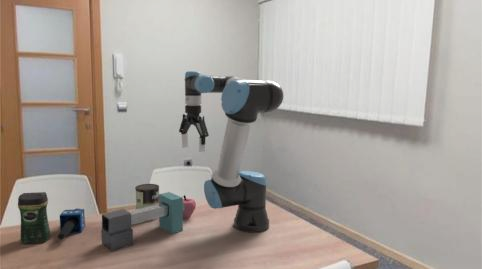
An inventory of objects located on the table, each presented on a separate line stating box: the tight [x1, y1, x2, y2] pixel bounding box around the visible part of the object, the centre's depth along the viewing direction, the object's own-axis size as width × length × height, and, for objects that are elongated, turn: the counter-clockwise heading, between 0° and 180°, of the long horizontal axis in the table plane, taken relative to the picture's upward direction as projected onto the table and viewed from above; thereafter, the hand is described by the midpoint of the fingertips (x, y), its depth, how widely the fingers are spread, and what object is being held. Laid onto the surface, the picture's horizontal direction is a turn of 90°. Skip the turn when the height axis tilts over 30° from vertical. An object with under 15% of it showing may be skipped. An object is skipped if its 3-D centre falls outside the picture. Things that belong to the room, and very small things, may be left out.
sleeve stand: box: [100, 208, 134, 253], centre depth 135 cm, size 8×8×12 cm
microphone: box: [57, 207, 86, 240], centre depth 145 cm, size 8×8×25 cm
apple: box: [182, 194, 197, 220], centre depth 163 cm, size 10×9×10 cm
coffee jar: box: [17, 191, 51, 245], centre depth 137 cm, size 10×8×19 cm
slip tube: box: [127, 203, 169, 226], centre depth 143 cm, size 4×22×4 cm, turn 134°
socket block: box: [158, 191, 184, 234], centre depth 151 cm, size 10×5×14 cm, turn 44°
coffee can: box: [135, 183, 160, 222], centre depth 163 cm, size 10×10×14 cm
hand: (193, 149), depth 174 cm, fingers open, 13 cm apart
